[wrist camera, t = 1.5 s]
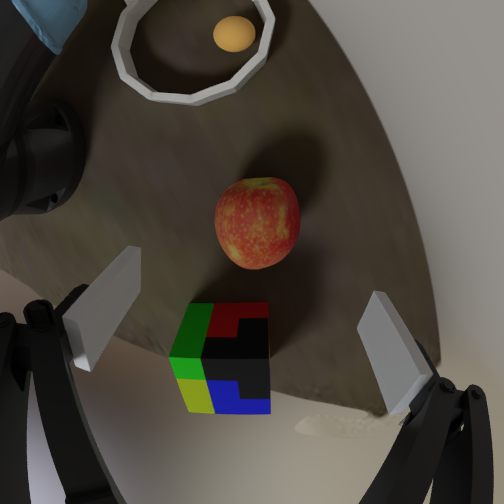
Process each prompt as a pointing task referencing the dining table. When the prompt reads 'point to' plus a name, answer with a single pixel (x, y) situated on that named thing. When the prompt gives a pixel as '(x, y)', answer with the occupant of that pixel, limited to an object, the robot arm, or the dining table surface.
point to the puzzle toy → (224, 358)
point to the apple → (257, 221)
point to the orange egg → (234, 34)
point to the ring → (129, 75)
